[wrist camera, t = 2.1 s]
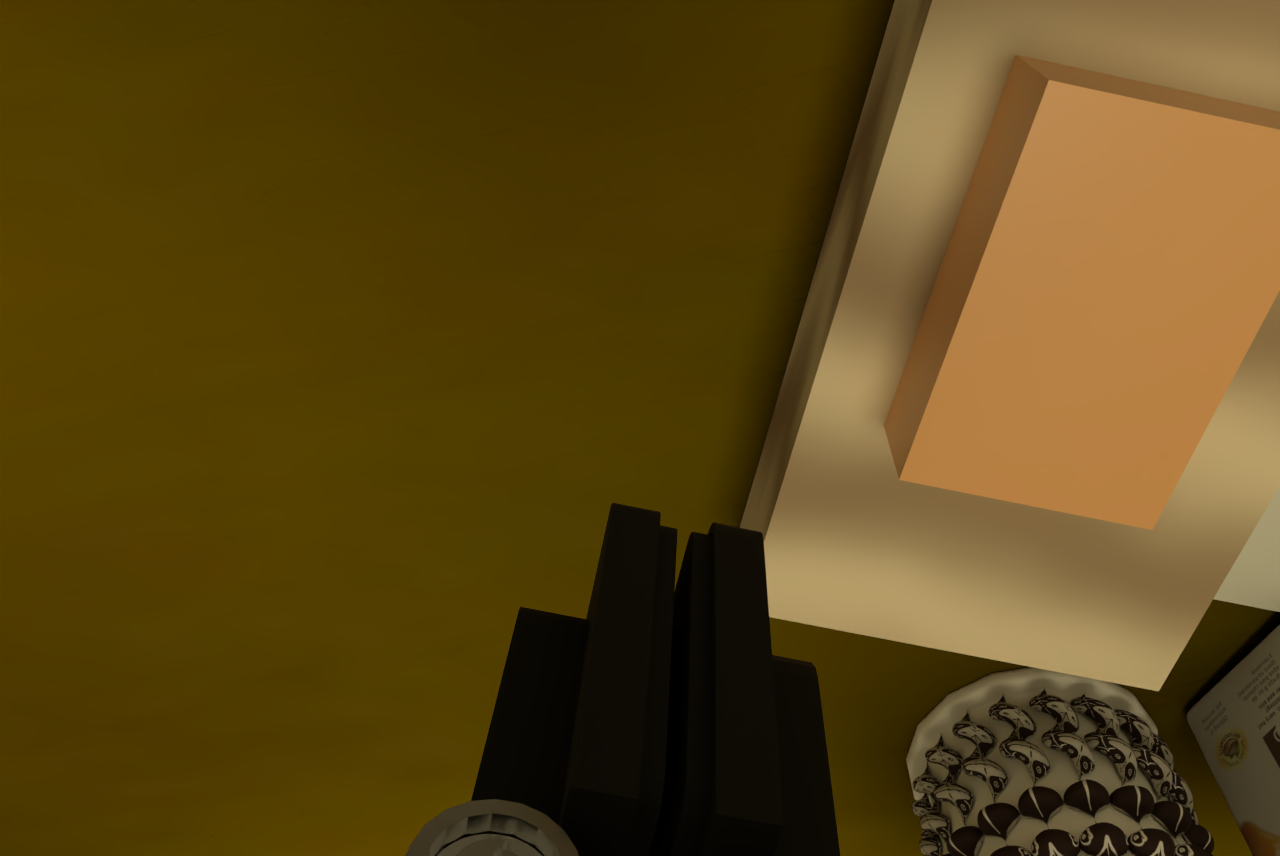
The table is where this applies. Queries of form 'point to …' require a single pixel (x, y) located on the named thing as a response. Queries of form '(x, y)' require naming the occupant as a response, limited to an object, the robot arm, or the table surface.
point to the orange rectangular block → (1092, 295)
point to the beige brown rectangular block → (884, 334)
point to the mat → (1257, 565)
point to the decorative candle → (1048, 773)
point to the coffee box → (1246, 743)
